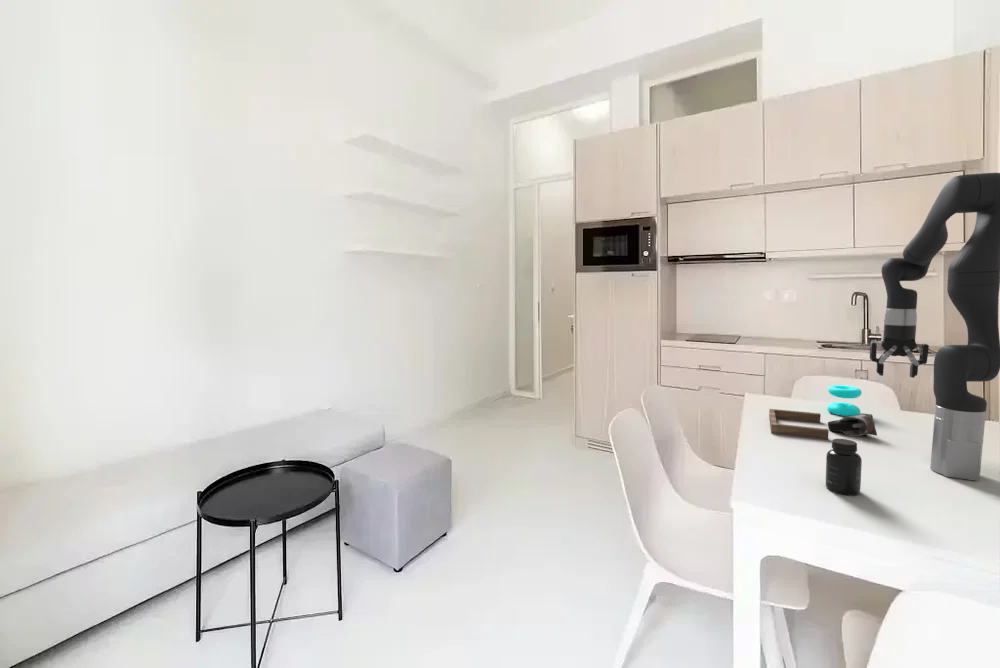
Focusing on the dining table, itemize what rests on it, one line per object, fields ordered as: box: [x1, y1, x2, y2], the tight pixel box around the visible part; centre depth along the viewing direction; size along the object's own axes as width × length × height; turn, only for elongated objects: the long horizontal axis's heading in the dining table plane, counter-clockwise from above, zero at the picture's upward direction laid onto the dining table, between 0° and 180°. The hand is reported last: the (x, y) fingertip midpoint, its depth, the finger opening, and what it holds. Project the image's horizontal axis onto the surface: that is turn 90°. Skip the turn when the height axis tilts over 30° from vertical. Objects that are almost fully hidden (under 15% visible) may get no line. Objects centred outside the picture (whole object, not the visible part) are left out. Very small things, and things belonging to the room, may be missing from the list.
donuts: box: [826, 384, 862, 417], centre depth 174 cm, size 10×10×10 cm
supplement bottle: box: [825, 438, 863, 496], centre depth 112 cm, size 7×7×12 cm
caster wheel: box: [827, 412, 878, 437], centre depth 153 cm, size 7×11×10 cm
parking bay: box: [768, 408, 830, 441], centre depth 160 cm, size 21×16×3 cm
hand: (896, 376), depth 146 cm, fingers open, 7 cm apart
